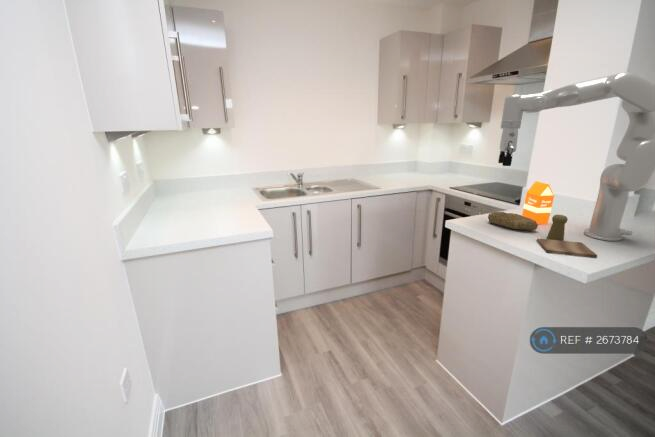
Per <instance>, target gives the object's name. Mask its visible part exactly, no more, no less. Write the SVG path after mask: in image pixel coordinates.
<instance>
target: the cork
mask: <svg viewBox="0 0 655 437" xmlns="http://www.w3.org/2000/svg"><path fill="white" fill-rule="evenodd" d="M568 219H569V218H568V217H567V216H566V215H563V214H554V215H553V216H552V217H551V221H552V224H551V227H550V229H549V231H548V233H547V236H546V239H550V240H560V241H565V240H564V239H565V228H566V227H565V226H566V224H567V222H568Z"/></svg>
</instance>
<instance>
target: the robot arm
mask: <svg viewBox="0 0 655 437" xmlns="http://www.w3.org/2000/svg"><path fill="white" fill-rule="evenodd" d="M617 97H618V98H620V99H621V100H622V101H621V108H622V109H623V111H624V112H625V113H626V114H627V115H628V119H629V123H628V125H627V126H628V127H627V128H626V131H625V133H624V135H623V137H622V139H621V141H620V144H619V146H618V147H617V150H616V156H617V158H618V159H619V160H622V161H625V162H624V163H616V164H615V163H614V164H611V165H609V166H607V167H606V168H604V170H603V171H602V172H601V175H600V178H599V179H600V180H599V190H598V195H597V199H596V202H595V205H594V210H593V212H592V217H591V221H590V224H589V226H588V227H589V228H587V229H584V230H583V235H585V236H587V237H590V238H592V239H597V240H601V241H606V242H607V241H609V242H618V241H621V240H622V236H623V235H624V236H633V231H632V230H626V229H622V228H620V227H621V223H622V221H623V217H624V214H625V213H624V212H625V210H626V206H627V204H628V200H629V196H630V193H629V192H636V191H638V190H641V189H642V188H644V187H645V186H646V185H647V184H648V182H649V180H650V179H651V177H652V175H653V174H654V172H655V83H654V82H651V81H650V80H648V79H646V78H644V77H643V76H640V75H638V74H636V73H633V72H630V71H623V72H618V73H616V74H611V75H606V76H601V77H597V78H593V79H588V80H583V81H580V82H576V83H572V84H568V85H565V86H562V87H559V88H555V89H551V90H547V91H543V92H539V93H538V92H537V93H530V94H509V95H507V96H506V97H505V98H504V104H503V110H502V115H501V117H502V118H501V123H500V129H502V133H501V136H500V138H501V139H500V144H499V150H500V151H499V156H498V164H502V167H511V165H512V161H513V156H514V155H513V153H515V152H517V146H518V136H519V129H521V124H522V118H523V114H524V113H527V114H532V113H535V114H536V113H539V112H542V111H545V110H550V109H555V108H563V107H573V106H579V105H582V104H583V105H584V104H588V103H592V102H597V101H602V100H607V99H611V98H617Z"/></svg>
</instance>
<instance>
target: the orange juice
mask: <svg viewBox="0 0 655 437" xmlns="http://www.w3.org/2000/svg"><path fill="white" fill-rule="evenodd" d="M524 198H525V199H524V204H523V210H522V214H521V215H522V216H525V217H528V218H531V219H533V220H535V221H536V223H537V224H538V225H548V224H549V222H550V221H549V220H550V215H551V211H552V208H553V203H554V198H555V195H554V193H553V190H552V188H551V186H550V184H549V183H545V182H540V181H536V180H535V181H534V182H533V184H532V185H531V187H529V188H528V190H527V191H526V194H525V197H524Z"/></svg>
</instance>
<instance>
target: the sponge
mask: <svg viewBox="0 0 655 437" xmlns="http://www.w3.org/2000/svg"><path fill="white" fill-rule="evenodd" d="M487 219H488V221H489V223H491V224H494V225H496V226H501V227H504V228H509V229H512V230H513V229H514V230H519V231H520V230H521V231H533V230H534V231H535V230H537V229H538V226H539V224H537V223H536V221H535V220H533V219H531V218H528V217H525V216H522V214H521V215H520V214H518V213H513V212H508V213H507V212H504V211H492V212H490V213H488V216H487Z"/></svg>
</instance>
